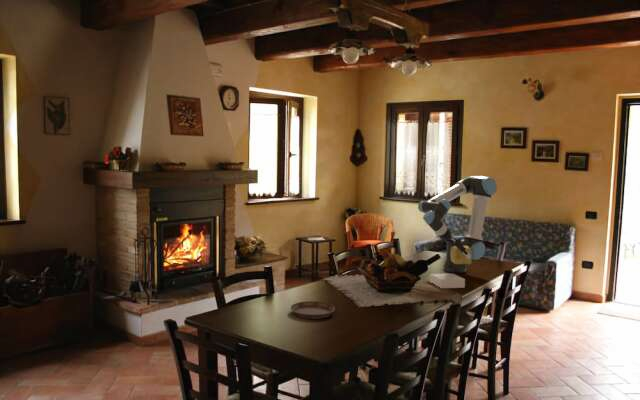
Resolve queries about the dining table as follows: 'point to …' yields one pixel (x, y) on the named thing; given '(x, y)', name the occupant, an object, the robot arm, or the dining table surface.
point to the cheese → (459, 256)
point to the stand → (447, 280)
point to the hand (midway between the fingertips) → (464, 255)
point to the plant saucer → (312, 309)
